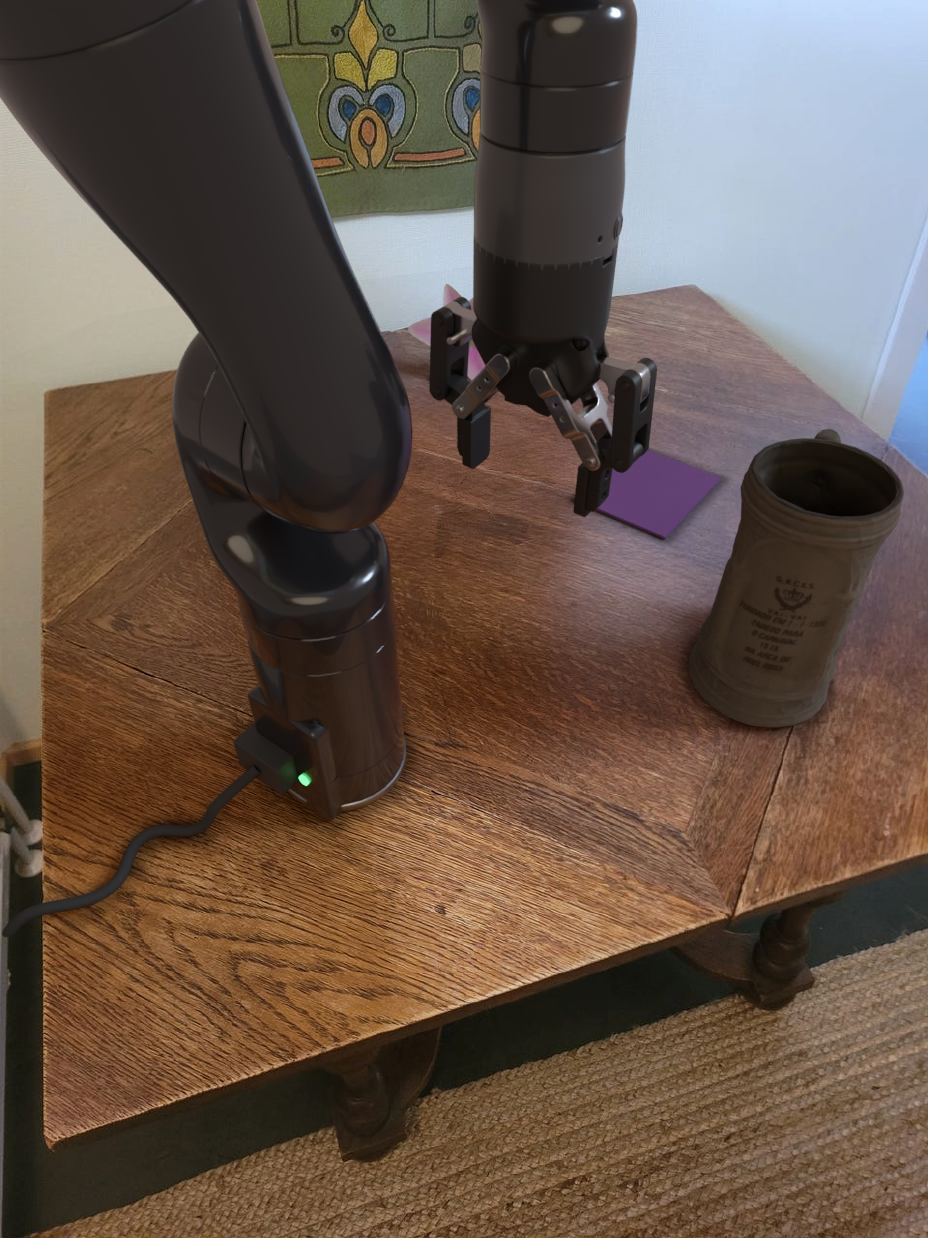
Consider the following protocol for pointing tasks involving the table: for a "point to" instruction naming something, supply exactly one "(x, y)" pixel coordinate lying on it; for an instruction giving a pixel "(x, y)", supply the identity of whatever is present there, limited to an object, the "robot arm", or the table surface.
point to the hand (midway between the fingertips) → (529, 485)
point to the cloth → (656, 493)
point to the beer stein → (793, 578)
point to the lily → (423, 334)
